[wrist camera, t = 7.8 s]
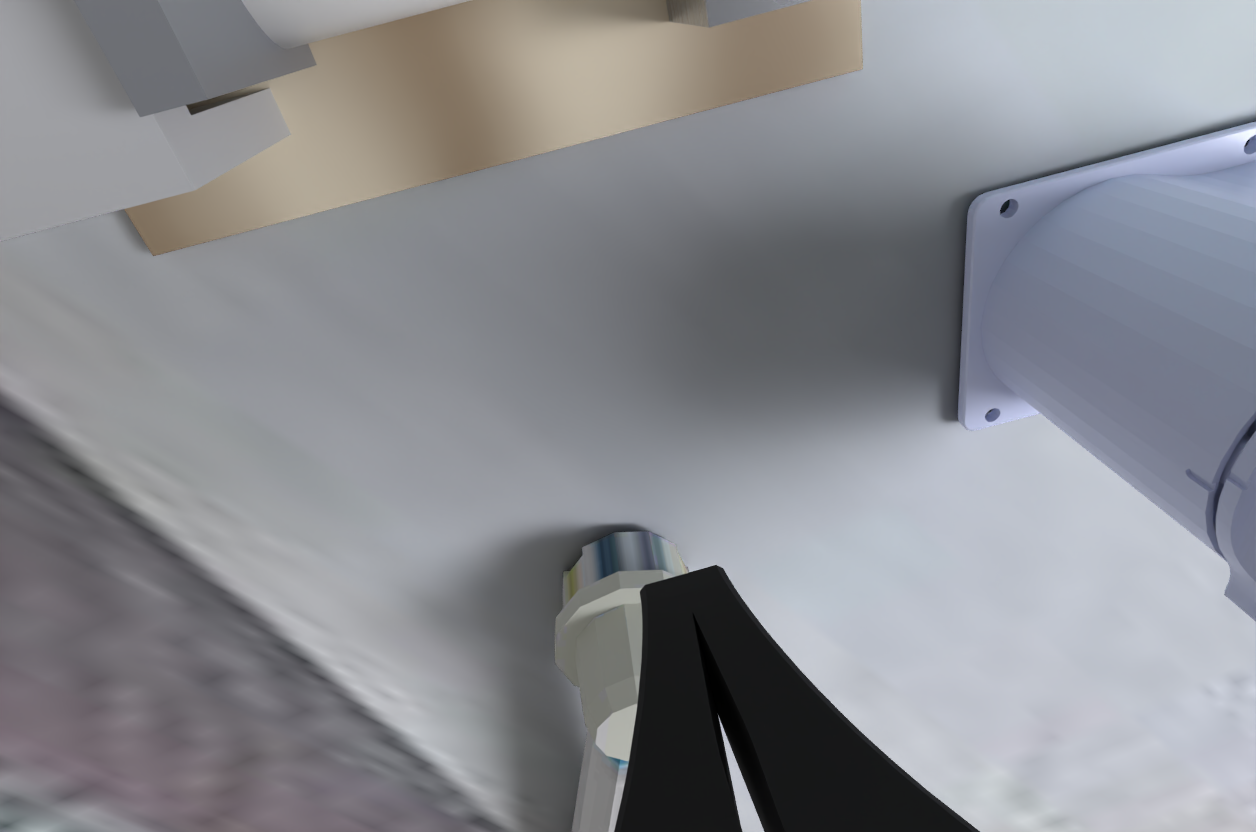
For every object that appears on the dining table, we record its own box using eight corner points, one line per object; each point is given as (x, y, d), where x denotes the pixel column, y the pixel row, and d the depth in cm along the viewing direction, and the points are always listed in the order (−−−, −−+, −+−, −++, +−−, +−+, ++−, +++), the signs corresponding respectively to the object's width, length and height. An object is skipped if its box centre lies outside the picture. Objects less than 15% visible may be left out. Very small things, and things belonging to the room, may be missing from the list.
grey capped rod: (548, 978, 33) (563, 719, 18) (545, 828, 38) (554, 525, 23) (654, 965, 34) (758, 705, 19) (637, 820, 39) (707, 521, 24)
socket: (122, -231, 12) (-116, -370, 8) (291, 134, 16) (195, 190, 11) (-110, -169, 12) (-487, -269, 8) (108, 182, 16) (-64, 259, 11)
